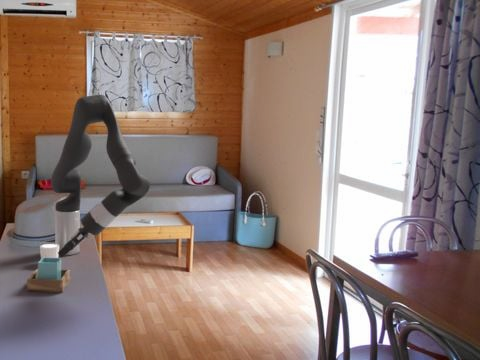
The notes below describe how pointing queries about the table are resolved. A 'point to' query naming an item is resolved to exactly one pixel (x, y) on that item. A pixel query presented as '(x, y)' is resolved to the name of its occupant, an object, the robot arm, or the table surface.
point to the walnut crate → (48, 283)
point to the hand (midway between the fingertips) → (63, 251)
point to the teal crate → (49, 268)
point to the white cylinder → (49, 250)
